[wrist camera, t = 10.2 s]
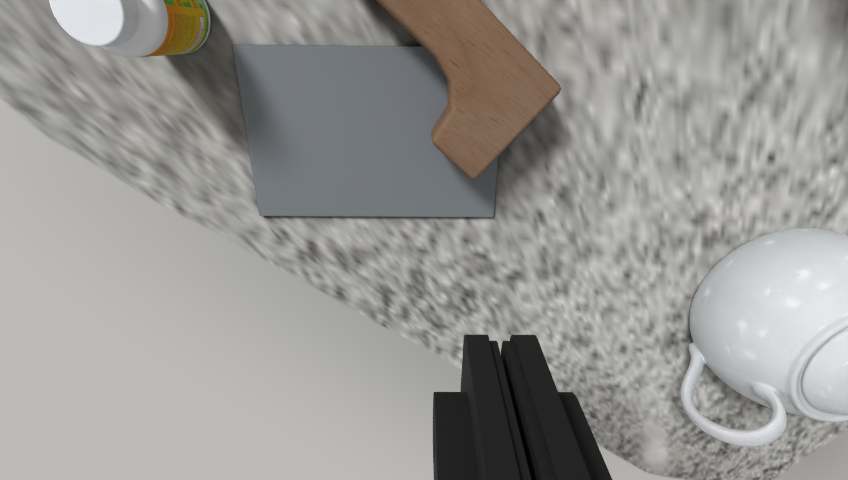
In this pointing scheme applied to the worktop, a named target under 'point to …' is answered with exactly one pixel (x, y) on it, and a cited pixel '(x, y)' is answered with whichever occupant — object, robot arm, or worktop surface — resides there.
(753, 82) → the worktop surface
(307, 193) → the rubber mat
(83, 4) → the supplement bottle
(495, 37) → the wooden block
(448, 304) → the worktop surface
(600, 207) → the worktop surface
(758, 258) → the teapot
